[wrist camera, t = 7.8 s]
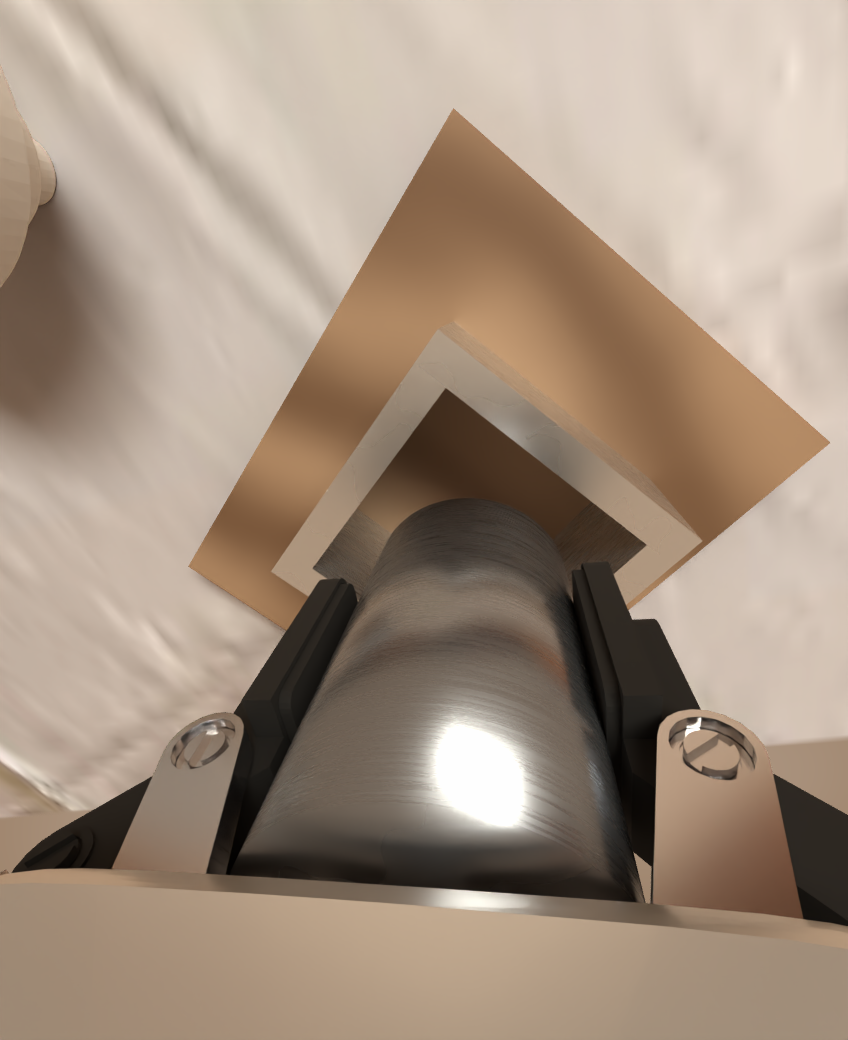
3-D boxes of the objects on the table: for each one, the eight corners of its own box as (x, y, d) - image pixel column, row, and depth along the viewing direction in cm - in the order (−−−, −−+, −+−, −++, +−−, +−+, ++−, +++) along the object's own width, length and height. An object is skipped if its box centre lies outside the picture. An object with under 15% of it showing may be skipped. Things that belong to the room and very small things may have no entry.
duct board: (465, 723, 26) (455, 847, 20) (206, 551, 24) (109, 634, 18) (804, 431, 18) (957, 496, 12) (457, 125, 15) (432, 16, 9)
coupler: (570, 657, 13) (651, 1074, 6) (395, 661, 14) (289, 1027, 7) (562, 488, 11) (668, 811, 4) (361, 507, 12) (166, 795, 5)
